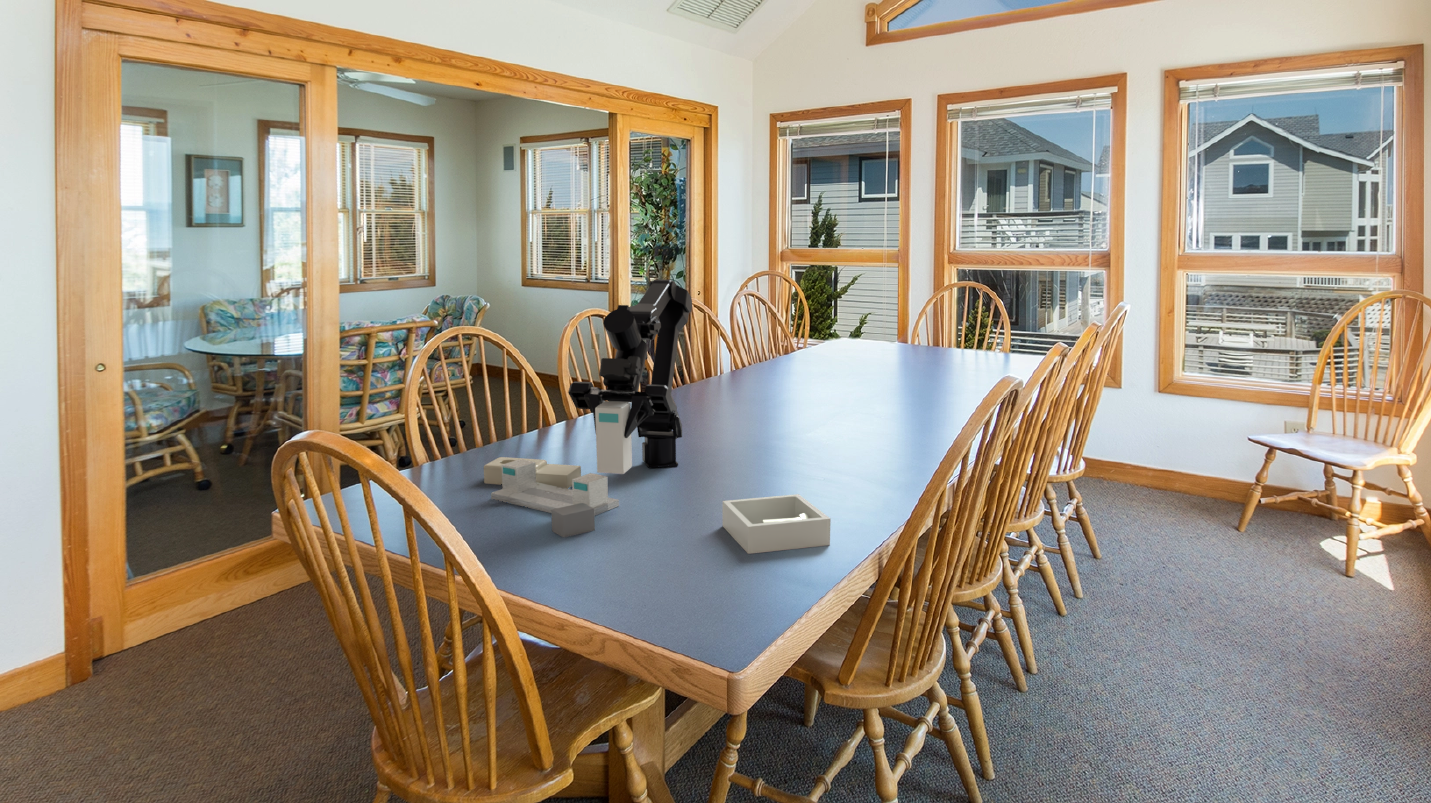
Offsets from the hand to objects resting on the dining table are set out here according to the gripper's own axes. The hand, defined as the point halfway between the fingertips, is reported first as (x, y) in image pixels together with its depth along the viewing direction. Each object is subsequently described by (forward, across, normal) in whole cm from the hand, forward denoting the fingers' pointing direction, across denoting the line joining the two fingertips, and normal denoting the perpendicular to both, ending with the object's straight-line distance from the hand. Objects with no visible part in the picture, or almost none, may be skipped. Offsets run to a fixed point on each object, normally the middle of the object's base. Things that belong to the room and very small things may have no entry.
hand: (611, 436), depth 165 cm
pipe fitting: (+16, +33, +4) cm, 37 cm away
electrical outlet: (+1, -22, +20) cm, 29 cm away
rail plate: (+9, -12, +10) cm, 18 cm away
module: (+4, 0, +6) cm, 7 cm away
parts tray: (+15, +31, +4) cm, 35 cm away
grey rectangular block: (+19, -3, 0) cm, 19 cm away
